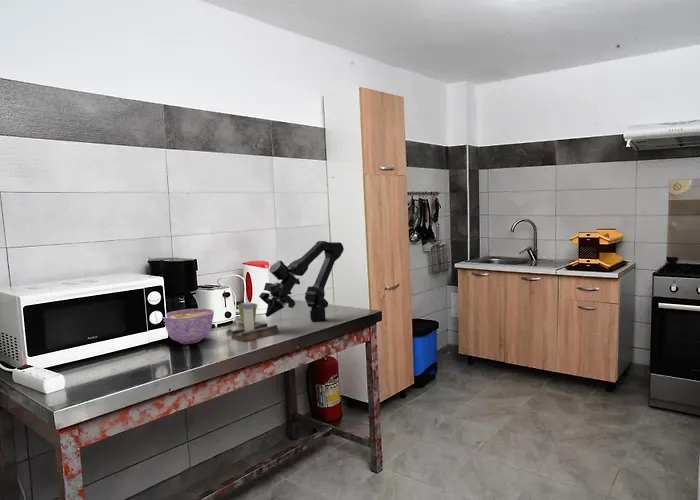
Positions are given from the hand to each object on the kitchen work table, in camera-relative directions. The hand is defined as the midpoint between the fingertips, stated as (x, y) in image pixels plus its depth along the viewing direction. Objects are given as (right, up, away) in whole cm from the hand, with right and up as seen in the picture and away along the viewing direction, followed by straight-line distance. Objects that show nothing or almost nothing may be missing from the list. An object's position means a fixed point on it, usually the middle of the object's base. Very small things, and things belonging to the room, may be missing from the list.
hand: (266, 316), depth 214 cm
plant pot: (-12, -6, +21) cm, 25 cm away
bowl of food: (-30, -9, -8) cm, 32 cm away
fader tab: (-6, -5, -6) cm, 10 cm away
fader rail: (-4, -8, -4) cm, 10 cm away
